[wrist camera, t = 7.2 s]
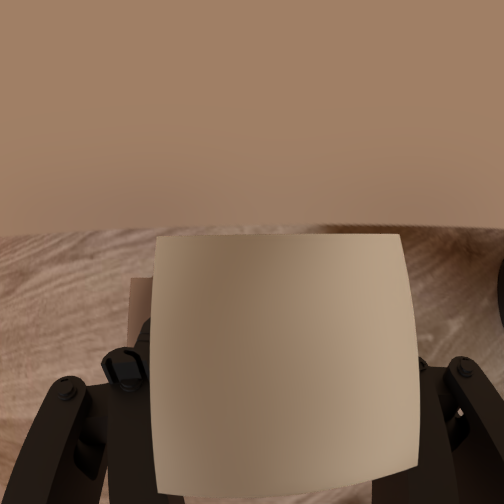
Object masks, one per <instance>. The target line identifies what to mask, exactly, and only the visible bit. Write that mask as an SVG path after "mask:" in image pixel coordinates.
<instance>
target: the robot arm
mask: <svg viewBox="0 0 504 504" xmlns="http://www.w3.org/2000/svg"><path fill="white" fill-rule="evenodd" d="M498 301H499V309H500V315H501V319H502V323H503V326H504V260H503V262H502V265H501V268H500V272H499V279H498ZM150 326H151V317H150V318H149V319H148V320H147V321H146V322H144V323H143V326H142V328H141V331H140V334H139V335H138V338H137V342H136V343H135V345H134V348H133V347H122V348H117V349H115V350H113V351H111V352H109V353H108V354H107V355H106V356H105V357H104V358H103V360H102V363H101V366H102V368H103V370H104V373H105V375H106V377H107V379H108V382H109V383H106V384H100V385H92V386H86V385H85V383H84V382H83V381H82V380H81V379H80V378H78V377H76V376H65V377H62V378H60V379H58V380H57V381H55V382H54V383H53V385H52V386H51V387H50V389H49V391H48V393H47V395H46V397H45V399H44V401H43V403H42V405H41V407H40V409H39V411H38V413H37V415H36V417H35V419H34V421H33V423H32V426H31V428H30V430H29V432H28V434H27V437H26V439H25V441H24V444H23V446H22V448H21V451H20V453H19V455H18V458H17V460H16V463H15V466H14V468H13V471H12V473H11V476H10V479H9V482H8V485H7V488H6V490H5V493H4V497H3V500H2V503H1V504H99V501H100V496H101V491H102V487H103V482H104V478H105V474H106V470H107V466H108V487H109V501H110V504H185V502H184V497H183V496H180V495H171V494H163V493H158V489H157V481H156V473H155V463H154V452H153V440H152V424H151V403H150ZM418 362H419V381H420V434H419V452H418V465H417V466H415V467H412V468H409V469H406V470H404V471H401V472H398V473H394V474H391V475H388V476H385V477H381V478H378V479H374V480H372V504H504V401H503V399H502V398H501V396H500V395H499V393H498V392H497V390H496V389H495V388H494V386H493V385H492V383H491V382H490V381H489V379H488V378H487V376H486V375H485V374H484V372H483V371H482V370H481V368H480V367H479V366H478V364H477V363H476V362H475V361H473V360H472V359H470V358H468V357H463V356H459V357H455V358H453V359H452V360H451V362H450V363H449V365H448V367H430V366H428V365H427V363H426V361H424V360H423V359H422V358H421V357H419V356H418ZM460 408H461V410H462V412H463V413H464V414H463V415H462V416H460V415H459V414H458V410H459V409H460Z"/></svg>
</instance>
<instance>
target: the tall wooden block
mask: <svg viewBox="0 0 504 504" xmlns="http://www.w3.org/2000/svg"><path fill="white" fill-rule="evenodd" d="M150 403H151V424H152V440H153V452H154V463H155V473H156V481H157V489H158V493H163V494H171V495H180V496H190V497H205V498H263V497H278V496H289V495H298V494H305V493H312V492H319V491H325V490H330V489H336V488H341V487H346V486H350V485H354V484H359V483H363V482H367V481H370V480H374V479H378V478H381V477H385V476H388V475H391V474H394V473H398V472H401V471H404V470H406V469H409V468H412V467H415V466H417V465H418V452H419V434H420V381H419V362H418V349H417V338H416V328H415V320H414V312H413V305H412V298H411V291H410V285H409V279H408V274H407V268H406V263H405V258H404V253H403V249H402V244H401V240H400V235H399V234H251V235H197V236H159V237H157V240H156V250H155V260H154V272H153V286H152V303H151V326H150Z"/></svg>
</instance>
